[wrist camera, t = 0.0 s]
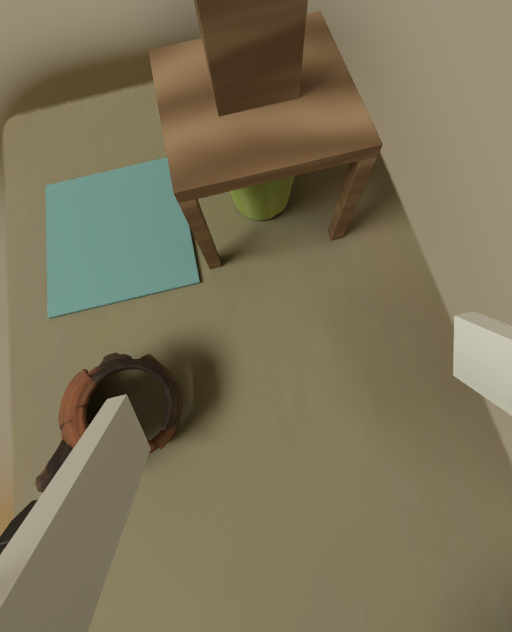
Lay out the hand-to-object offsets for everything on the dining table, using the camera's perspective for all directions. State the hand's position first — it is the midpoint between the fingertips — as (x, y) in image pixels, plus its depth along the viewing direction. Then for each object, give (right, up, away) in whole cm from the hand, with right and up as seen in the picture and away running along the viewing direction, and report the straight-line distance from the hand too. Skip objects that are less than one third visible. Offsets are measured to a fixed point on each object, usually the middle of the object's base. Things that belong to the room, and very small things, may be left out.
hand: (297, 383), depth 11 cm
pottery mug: (-14, -7, +15) cm, 22 cm away
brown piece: (-1, +16, +21) cm, 26 cm away
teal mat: (-17, +12, +21) cm, 29 cm away
